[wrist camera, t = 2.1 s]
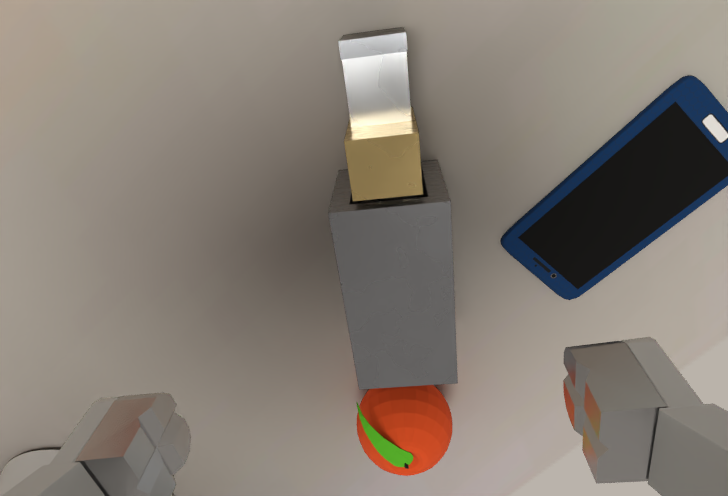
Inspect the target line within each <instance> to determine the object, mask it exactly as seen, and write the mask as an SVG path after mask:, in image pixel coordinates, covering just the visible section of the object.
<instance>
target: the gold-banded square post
mask: <svg viewBox="0 0 728 496" xmlns="http://www.w3.org/2000/svg"><path fill="white" fill-rule="evenodd" d="M338 43H339V50H340V57H341V60H342V63H343V71H344V78H345V85H346V92H347V100H348V107H349V114H350V120H349V124H348V128H347V132H346V135H345V139H344V144H345V151H346V158H347V165H348V171H349V178H350V185H351V192H352V199H353V201H361V202H362V203H371V202H381V201H391V200H401V199H411V198H417V195H421V194H423V188H422V174H421V159H420V144H419V132H418V128H417V124H416V119H415V115H414V111H413V107H411V106H410V92H409V79H408V66H407V52H406V51H408V50H407V37H406V31H405V29H404V27H400V28H393V29H385V30H378V31H370V32H363V33H355V34H348V35H343V36H342V37H341V39H340V40H339V41H338Z"/></svg>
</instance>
